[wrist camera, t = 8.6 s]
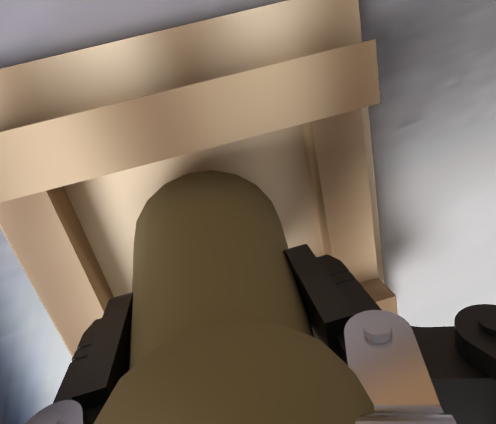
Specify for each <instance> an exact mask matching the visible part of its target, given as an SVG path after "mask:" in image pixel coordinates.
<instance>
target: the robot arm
mask: <svg viewBox="0 0 496 424" xmlns="http://www.w3.org/2000/svg"><path fill="white" fill-rule="evenodd" d="M284 252H285V255H286V257H287V259H288V262H289V264H290V266H291V269H292V272H293V274H294V277H295V280H296V283H297V286H298V288H299V291H300V294H301V297H302V299H303V302H304V305H305V308H306V310H307V314H308V317H309V321H310V324H311V327H312V331H313V334H314V338H317V339H319V340H321V341H322V342H323V343H324V344H325V345H326V346H328V347H329V348H330V349H331V350H332V351H333V352H334V353H335V354H336V355H337V356H338V357H340V358H341V359H342V360H343V361H344V362H345V363H346V364H347V365H348V367H349V368H350V369H351V370H352V371H353V372H354V373H355V374H356V375H357V377H358V379H359V380H360V382H361V384H362V386H363V387H364V389H365V391H366V392H367V394H368V396H369V397H370V399H371V401H372V402H373V404H374V409H375V412H374V413H366V414H362V415H360V416H359V417H358V418H357V419H356V421H355V424H496V305H489V304H481V305H473V306H469V307H466V308H464V309H462V310H461V311H460V312H458V314H457V315H456V317H455V326H452V327H414V326H410V324H409V323H408V322H407V321H406V320H405V319H404V318H402V317H401V316H399V315H397V314H395V313H392V312H389V311H384V310H382V309H381V308H380V307H379V306H378V305H377V303H376V302H375V301H374V300H373V299H372V297H371V296H370V295H369V294H368V293H367V291H366V290H365V289H364V288H363V287H362V285H361V284H360V283H359V282H358V281H357V280H356V278H355V277H354V276H353V275H352V273H351V272H349V270H348V269H347V267H346V266H345V265H344V264H343V263H342V261H341V260H339V259H337V258H334V257H332V256H330V255H328V254H327V255H323V256H320V257H316V256H315V255H314V253H313V252H312V250H311V249H310V248H309V246H308V245H307V244H303V245H300V246H296V247H292V248H289V249H285V250H284ZM132 301H133V292H131V293H128V294H124V295H120V296H117V297H113V298H110V299H109V301H108V303H107V306H106V309H105V311H104V314H103V316H102V318H100V319H96V320H95V321H94V322H93V323H92V324H91V325H90V326H89V328H88V329H87V330H86V331H85V332H84V333H83V335H82V337H81V340H80V342H79V344H78V347H77V350H76V351H75V353H74V356H73V358H72V363H70V365H69V367H68V370H67V372H66V374H65V377H64V379H63V381H62V383H61V386H60V388H59V390H58V393H57V395H56V397H55V400H54V402H53V404H51V405H49V406H47V407H46V408H44V409H42V410H41V411H39V412H38V413H36V414H35V415H34V416H33V417H32V418H30V419H29V420H28V421H27V422H26V423H25V424H94V422H95V420H96V418H97V417H98V415H99V413H100V412H101V410H102V408H103V406H104V405H105V403H106V401H107V400H108V398H109V396H110V394H111V393H112V391H113V389H114V388H115V386H116V384H117V383H118V381H119V379H120V378H121V377H122V376H123V375H125V374H126V373H127V372H128V371H129V361H130V333H131V317H132Z"/></svg>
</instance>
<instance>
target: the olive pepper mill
mask: <svg viewBox="0 0 496 424" xmlns="http://www.w3.org/2000/svg"><path fill="white" fill-rule="evenodd" d="M285 249H288V245H287V242H286V238H285V235H284V232H283V228H282V225H281V221H280V219H279V217H278V214H277V212H276V210H275V207H274V205H273V203H272V201H271V200H270V199H269V198H268V197H267V196H266V195H265V194H264V192H263V191H262V190H261V189H260V188H259V187H258V186H257V185H255V184H253V183H251V182H250V181H248V180H246V179H244V178H242V177H240V176H238V175H237V174H231V173H226V172H220V171H215V170H209V171H201V172H194V173H187V174H185V175H183V176H181V177H178V178H176V179H174V180H172V181H170V182H168V183H166V184H164V185H163V186H162V187H161V188H160V189H159V190H158V191H157V192H156V193H155V194H154V195H152V196H151V197H150V198H149V199H148V200H147V202H146V204H145V206H144V208H143V209H142V211H141V213H140V215H139V217H138V219H137V221H136V229H135V237H134V250H133V278H132V292H133V301H132V317H131V333H130V361H129V371H128V372H127V373H126V374H125V375H123V376H122V377H121V378H120V379H119V381H118V383H117V384H116V386H115V388H114V389H113V391H112V393H111V394H110V396H109V398H108V400H107V401H106V403H105V405H104V406H103V408H102V410H101V412H100V413H99V415H98V417H97V418H96V420H95V422H94V424H355V421H356V419H357V418H358V417H359V416H360V415H362V414H366V413H374V412H375V409H374V404H373V402H372V401H371V399H370V397H369V396H368V394H367V392H366V391H365V389H364V387H363V386H362V384H361V382H360V380H359V379H358V377H357V375H356V374H355V373H354V372H353V371H352V370H351V369H350V368H349V367H348V365H347V364H346V363H345V362H344V361H343V360H342V359H341V358H340V357H338V356H337V355H336V354H335V353H334V352H333V351H332V350H331V349H330V348H329V347H328V346H326V345H325V344H324V343H323V342H322V341H321V340H319V339H317V338H314V334H313V331H312V327H311V324H310V321H309V317H308V314H307V310H306V308H305V305H304V302H303V299H302V297H301V294H300V291H299V288H298V286H297V283H296V280H295V277H294V274H293V272H292V269H291V266H290V264H289V262H288V259H287V257H286V255H285V252H284V250H285Z"/></svg>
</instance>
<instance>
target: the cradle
mask: <svg viewBox="0 0 496 424" xmlns="http://www.w3.org/2000/svg"><path fill="white" fill-rule="evenodd" d="M377 104H381V101H380V88H379V76H378V63H377V51H376V39H373V40H369V41H365V42H362V35H361V24H360V13H359V2H358V0H287V1H283V2H279V3H275V4H270V5H266V6H262V7H258V8H254V9H249V10H245V11H241V12H237V13H233V14H228V15H224V16H220V17H216V18H212V19H207V20H203V21H199V22H195V23H191V24H186V25H182V26H178V27H174V28H170V29H165V30H161V31H157V32H153V33H149V34H144V35H140V36H136V37H132V38H128V39H123V40H119V41H115V42H111V43H107V44H102V45H98V46H94V47H90V48H86V49H81V50H77V51H73V52H69V53H65V54H60V55H56V56H52V57H48V58H44V59H39V60H35V61H31V62H27V63H23V64H18V65H14V66H10V67H6V68H2V69H0V228H1V229H2V231H3V233H4V235H5V237H6V239H7V240H8V242H9V244H10V246H11V248H12V249H13V251H14V253H15V255H16V257H17V258H18V260H19V262H20V264H21V266H22V267H23V269H24V271H25V273H26V275H27V276H28V278H29V280H30V282H31V284H32V285H33V287H34V289H35V291H36V293H37V294H38V296H39V298H40V300H41V302H42V303H43V305H44V307H45V309H46V311H47V312H48V314H49V316H50V318H51V320H52V321H53V323H54V325H55V327H56V329H57V331H58V332H59V334H60V336H61V338H62V340H63V341H64V343H65V345H66V347H67V349H68V350H69V352H70V354H71V356H72V358H73V356H74V353H75V351H76V350H77V347H78V344H79V342H80V340H81V337H82V335H83V333H84V332H85V331H86V330H87V329H88V328H89V326H90V325H91V324H92V323H93V322H94V321H95V320H96V319H100V318H102V316H103V314H104V311H105V309H106V306H107V303H108V301H109V299H110V298H113V297H117V296H120V295H124V294H128V293H131V292H132V278H133V250H134V237H135V229H136V221H137V219H138V217H139V215H140V213H141V211H142V209H143V208H144V206H145V204H146V202H147V200H148V199H149V198H150V197H151V196H152V195H154V194H155V193H156V192H157V191H158V190H159V189H160V188H161V187H162V186H163V185H164V184H166V183H168V182H170V181H172V180H174V179H176V178H178V177H181V176H183V175H185V174H187V173H194V172H201V171H209V170H215V171H220V172H226V173H231V174H237V175H238V176H240V177H242V178H244V179H246V180H248V181H250V182H251V183H253V184H255V185H257V186H258V187H259V188H260V189H261V190H262V191H263V192H264V194H265V195H266V196H267V197H268V198H269V199H270V200H271V201H272V203H273V205H274V207H275V210H276V212H277V214H278V217H279V219H280V221H281V225H282V228H283V232H284V235H285V238H286V242H287V245H288V249H289V248H292V247H296V246H300V245H303V244H307V245H308V246H309V248H310V249H311V250H312V252H313V253H314V255H315V256H316V257H320V256H323V255H327V254H328V255H330V256H332V257H334V258H337V259H339V260H341V261H342V263H343V264H344V265H345V266H346V267H347V269H348V270H349V272H351V273H352V275H353V276H354V277H355V278H356V280H357V281H358V282H359V283H360V284H361V285H362V287H363V288H364V289H365V290H366V291H367V293H368V294H369V295H370V296H371V297H372V299H373V300H374V301H375V302H376V303H377V305H378V306H379V307H380V308H381V309H382V310H384V311H389V312H392V313H395V314H397V303H396V296H395V294H394V293H393V292H392V291H391V290H390V289H389V288H388V287H387V286H386V285H385V282H384V271H383V261H382V250H381V239H380V228H379V218H378V207H377V196H376V185H375V175H374V164H373V153H372V142H371V132H370V121H369V110H368V107H369V106H373V105H377Z"/></svg>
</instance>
